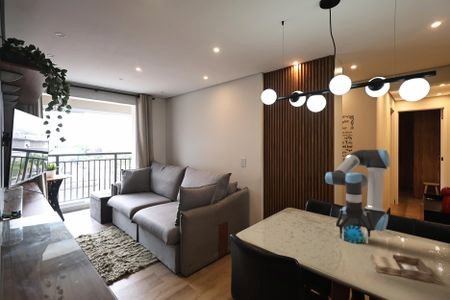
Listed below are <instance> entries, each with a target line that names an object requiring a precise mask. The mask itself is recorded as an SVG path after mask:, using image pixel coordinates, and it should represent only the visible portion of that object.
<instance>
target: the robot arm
mask: <svg viewBox="0 0 450 300" xmlns="http://www.w3.org/2000/svg"><path fill="white" fill-rule="evenodd" d="M361 166H363V167H365V169H367V171H368V176H367V175H366V174H365V173H360V172H352V171H353V170H354V168H357V167H361ZM389 167H391V159H390V155H389V153H388V150H386V149H358V150H357V149H356V150H355V151H352V152H350V153H349V154H348V155H346V156H345V158H344V161H342V163H341V164H340V165H339V166H338V167H337V168H335V170H334V171H328V172H326V173H325V176H324V179H325V183H326V184H329V185H332V186H333V185H335V186H345V200H346V201H345V206H343V207H342V208H340V209H339V214H338V217H337V219H336V222H335V226H336V228H337V227H338V228H339V238H340V239H341V240H342V241H345V242H348V243H350V242H349V240H351V239H348V240H346V239H345V237H348V236H344V233H345V234H346V235H347V233H346V232H344V229H345V230H346V231H347V232H348V229H347V228H346V227H349V230H350V229H351V227H350V226H351V225H352V226H353V228H352V229H354V228H355V226H357V227H358V229H361V230H362V228H365V230H364V232H365V233H364V235H361V234H359V235H360V236H362V237H366V240H364V241H365V243H366V244H369V238H371V232H374V231H377V232H378V231H379V232H384V231H385V230H386V228H387V226H388V222H389V214H387V213H386V210H385V209H384V207H383V205H384V204H383V202H384V178H385V177H384V176H385V171H387V170H388V168H389ZM366 186H367V195H366V196H367V199H366V202H367V203H366V205H365V207H364V208H363V202H362V201H363V188H364V187H366ZM358 229H355V230H358ZM358 232H360V233H362V232H363V231H358ZM353 241H355V240H352V242H351V243H353V244H361V243H364V242H363V241H362V240H361V242H358V239H356V243H354V242H353Z"/></svg>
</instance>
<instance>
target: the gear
mask: <svg viewBox="0 0 450 300" xmlns="http://www.w3.org/2000/svg"><path fill="white" fill-rule="evenodd" d="M350 227H351V229H350V230H349V227H346V228H347V229H348V232H347V231H346V230H345V229H344V232H346V233H347V235H346V234H345V233H344V236H348V237H345V239H346V240H348V239H351V240H349V242H348V243H350V244H351V243H352V240H355V241H353V242H354V243H353V244H357V243H356V239H358V242H361V240H362V241H363V242H362V243H366V241H365V240H366V237H365V233H364V232H363V231H362V228H361V229H358V227H357V226H355V228H354V229H352V228H353V226H352V225H351V226H350ZM355 229H358V230H355ZM358 231H362V233H360V232H358ZM359 234H361V235H363V236H364V237H362V236H360V235H359Z"/></svg>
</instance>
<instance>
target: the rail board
mask: <svg viewBox="0 0 450 300" xmlns="http://www.w3.org/2000/svg"><path fill="white" fill-rule="evenodd" d="M369 257H370V260H371V263H372V265H373V268H374V270H375V272H376V273H379V274H385V275H389V276H396V277H401V278H408V279H411V280H419V281H422V282H428V283H434V273H432V271H431V270H430V269H429V268H428V266H427V265H426V263H424V262H423V261H422V259H421V258H420V257H412V256H406V255H399V254H394V253H393V254H392V257H386V256H381V255H374V254H373V255H372V254H370V256H369Z"/></svg>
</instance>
